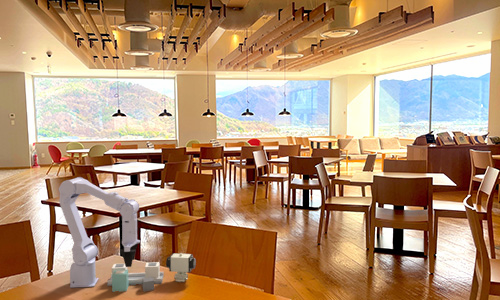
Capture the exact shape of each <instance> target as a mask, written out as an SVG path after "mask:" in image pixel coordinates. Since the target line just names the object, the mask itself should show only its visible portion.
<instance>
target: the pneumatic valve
mask: <svg viewBox="0 0 500 300" xmlns="http://www.w3.org/2000/svg"><path fill="white" fill-rule="evenodd" d="M196 263H197V260H196V258H195V257H194V255H193V253H192V254H191V253H182V252H180V253H173V252H172V254H170V255H169V256H167V257H166V261H165V267H166V268H167V269H168V271H169V272H172V273H173V272H174V280H175V282H176V283H177V282H179V283H185V282H186V281H187V280H188V278H189V274H188V273H191V272H192V270H193V269H194V270H195V268H196V265H197V264H196Z"/></svg>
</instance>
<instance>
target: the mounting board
mask: <svg viewBox="0 0 500 300" xmlns="http://www.w3.org/2000/svg"><path fill="white" fill-rule="evenodd" d="M160 269H161V268H160V262H159V261H153V262H146V263H145V267H144V272H128V281H129V286H136V284H139V285H142V278H148V277H153V279H154V285H155V284H157V285H160V284H161V285H162V284H163V279H164V274H165V273H164V271H161V270H160ZM114 270H128V267H126V266H125V263H113V265H112V267H111V274H110V278H109V280H107V284H106V286H107V287H111V286H112V274H113V272H114Z"/></svg>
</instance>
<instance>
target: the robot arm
mask: <svg viewBox="0 0 500 300" xmlns="http://www.w3.org/2000/svg"><path fill="white" fill-rule="evenodd" d="M58 192H59V206H60V208H61V211H62V213H63V216H64V219H65V222H66V224H67V227H68V230H69V232H70V235H71V237H72V240H73V245H72V247H71V251H72V260H73V262H72V263H71V264H70V268H69V269H70V270H69V282H70V286H69V288H88V287H89V288H90V287H91V288H92V287H95V286H96V284H97V282H98V281H99V279H100V278H99V277H96V257H97V256H98V254H99V248H98V247H97V245H95V243H94V241H93V239H91V238H90V237H88V234H87V232H86V229H85V226H84V223H83V221H82V218H81V215H80V212H79V209H78V207H77V204H76V201H77V199H78V198H79V196H80V195H81V194H88V195H90V196H93V197H95V198H97V199H100V200H101V201H103V202H104V204H105V206H108V207H109V208H112V209H113V210H115V211H118V212H119V214H120V215H121V221H122V223H121V225H122V227H121V228H122V229H121V230H122V234H121V235H122V236H121V237H122V239H121V244H122V246H123V248H121V249H120V254H121V256H122V258H123V262H124V264H125V266H126V267H127V268H131V267H132V265H133V261H134V260H135V258H136V257H135V256H136V251H137V247H138V245H139V244H140V242H141V240H140V239H138V211H139V210H140V205H139V203H138V201H136V200H135V199H132V198H131V199H129V198H128V197H124V196H122V195H120V194H119V192H117V191H111V192H108V191H105V190H104V189H102V188H100V187H99V186H96V185H95V184H94V183H91V182H90V181H89V180H88V179H85V178H83V177H81V176H77V177H75V178H72V179H66V180H64V181H62V182H61V183H60V185H59V187H58Z"/></svg>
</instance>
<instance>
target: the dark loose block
mask: <svg viewBox="0 0 500 300" xmlns="http://www.w3.org/2000/svg"><path fill="white" fill-rule="evenodd" d="M141 285H142V290H143V292H150V291H154V290H155V284H154V279H153V277H148V278H142V284H141Z"/></svg>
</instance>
